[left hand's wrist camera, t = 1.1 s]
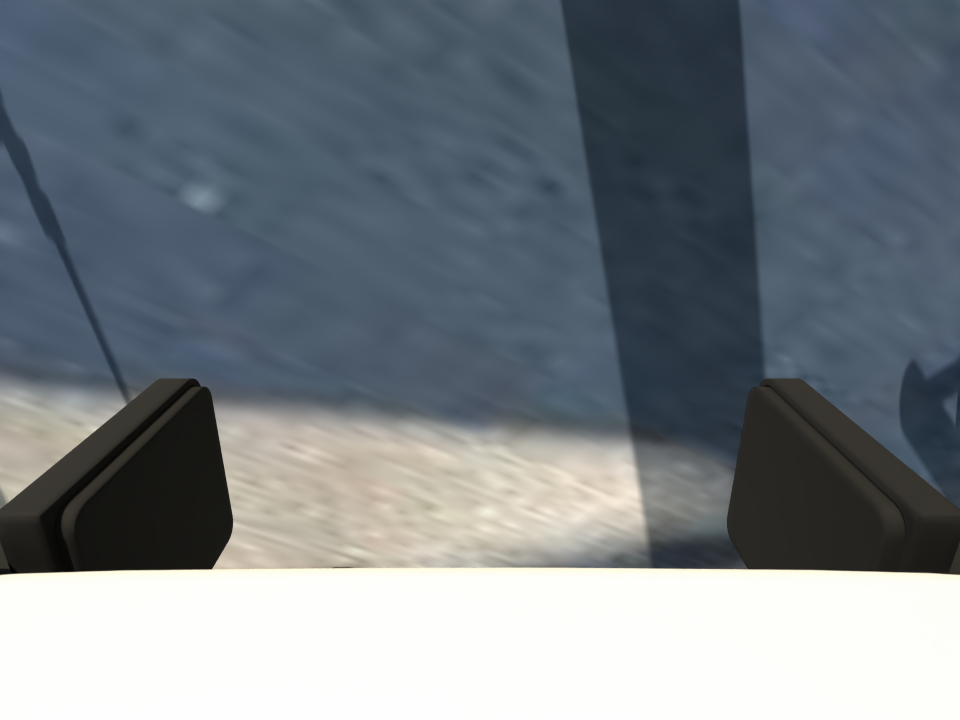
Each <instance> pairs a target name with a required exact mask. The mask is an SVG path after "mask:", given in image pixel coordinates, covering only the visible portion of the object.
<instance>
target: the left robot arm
mask: <svg viewBox="0 0 960 720" xmlns="http://www.w3.org/2000/svg"><path fill="white" fill-rule="evenodd" d="M232 528H233V516H232V510H231V504H230V499H229V493H228V487H227V481H226V476H225V470H224V464H223V458H222V453H221V447H220V441H219V435H218V430H217V424H216V418H215V413H214V407H213V401H212V396H211V392H210V391H209V389H208V388H207V387H201V386H200V384H199V382H198V381H197V380H196V379H159V380H157V381H156V382H154V383H153V384H152V385H151V386H150V387H148V388H147V389H146V390H145V391H143V392H142V393H141V394H140V395H139V396H137V397H136V398H135V399H134V400H133V401H131V402H130V403H129V404H128V405H126V406H125V407H124V408H123V409H122V410H120V411H119V412H118V413H117V414H116V415H114V416H113V417H112V418H111V419H109V420H108V421H107V422H106V423H105V424H103V425H102V426H101V427H100V428H99V429H97V430H96V431H95V432H94V433H92V434H91V435H90V436H89V437H88V438H86V439H85V440H84V441H83V442H81V443H80V444H79V445H78V446H77V447H75V448H74V449H73V450H72V451H71V452H69V453H68V454H67V455H66V456H64V457H63V458H62V459H61V460H60V461H58V462H57V463H56V464H55V465H54V466H52V467H51V468H50V469H49V470H47V471H46V472H45V473H44V474H43V475H41V476H40V477H39V478H38V479H37V480H35V481H34V482H33V483H32V484H30V485H29V486H28V487H27V488H26V489H24V490H23V491H22V492H21V493H20V494H18V495H17V496H16V497H15V498H13V499H12V500H11V501H10V502H9V503H7V504H6V505H5V506H4V507H3V508H1V509H0V720H960V509H959V508H957V507H956V506H955V505H954V504H953V503H951V502H950V501H949V500H948V499H947V498H945V497H944V496H943V495H942V494H940V493H939V492H938V491H937V490H936V489H934V488H933V487H932V486H931V485H930V484H928V483H927V482H926V481H925V480H923V479H922V478H921V477H920V476H919V475H917V474H916V473H915V472H914V471H913V470H911V469H910V468H909V467H908V466H906V465H905V464H904V463H903V462H902V461H900V460H899V459H898V458H897V457H896V456H894V455H893V454H892V453H891V452H889V451H888V450H887V449H886V448H885V447H883V446H882V445H881V444H880V443H879V442H877V441H876V440H875V439H874V438H872V437H871V436H870V435H869V434H868V433H866V432H865V431H864V430H863V429H862V428H860V427H859V426H858V425H857V424H855V423H854V422H853V421H852V420H851V419H849V418H848V417H847V416H846V415H844V414H843V413H842V412H841V411H840V410H838V409H837V408H836V407H835V406H834V405H832V404H831V403H830V402H829V401H827V400H826V399H825V398H824V397H823V396H821V395H820V394H819V393H818V392H817V391H815V390H814V389H813V388H812V387H810V386H809V385H808V384H807V383H806V382H804V381H803V380H801V379H764V380H763V381H762V382H761V384H760V386H759V387H753V388H752V389H751V391H750V392H749V396H748V401H747V407H746V413H745V418H744V424H743V430H742V435H741V441H740V447H739V453H738V458H737V464H736V470H735V476H734V481H733V487H732V493H731V499H730V504H729V510H728V516H727V528H728V533H729V537H730V539H731V541H732V543H733V544H734V546H735V548H736V550H737V551H738V553H739V555H740V556H741V558H742V560H743V561H744V563H745V565H746V567H747V568H748V570H746V569H629V568H312V569H219V570H212V568H213V567H214V565H215V563H216V561H217V560H218V558H219V556H220V555H221V553H222V551H223V550H224V548H225V546H226V544H227V543H228V541H229V539H230V537H231V533H232Z"/></svg>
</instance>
